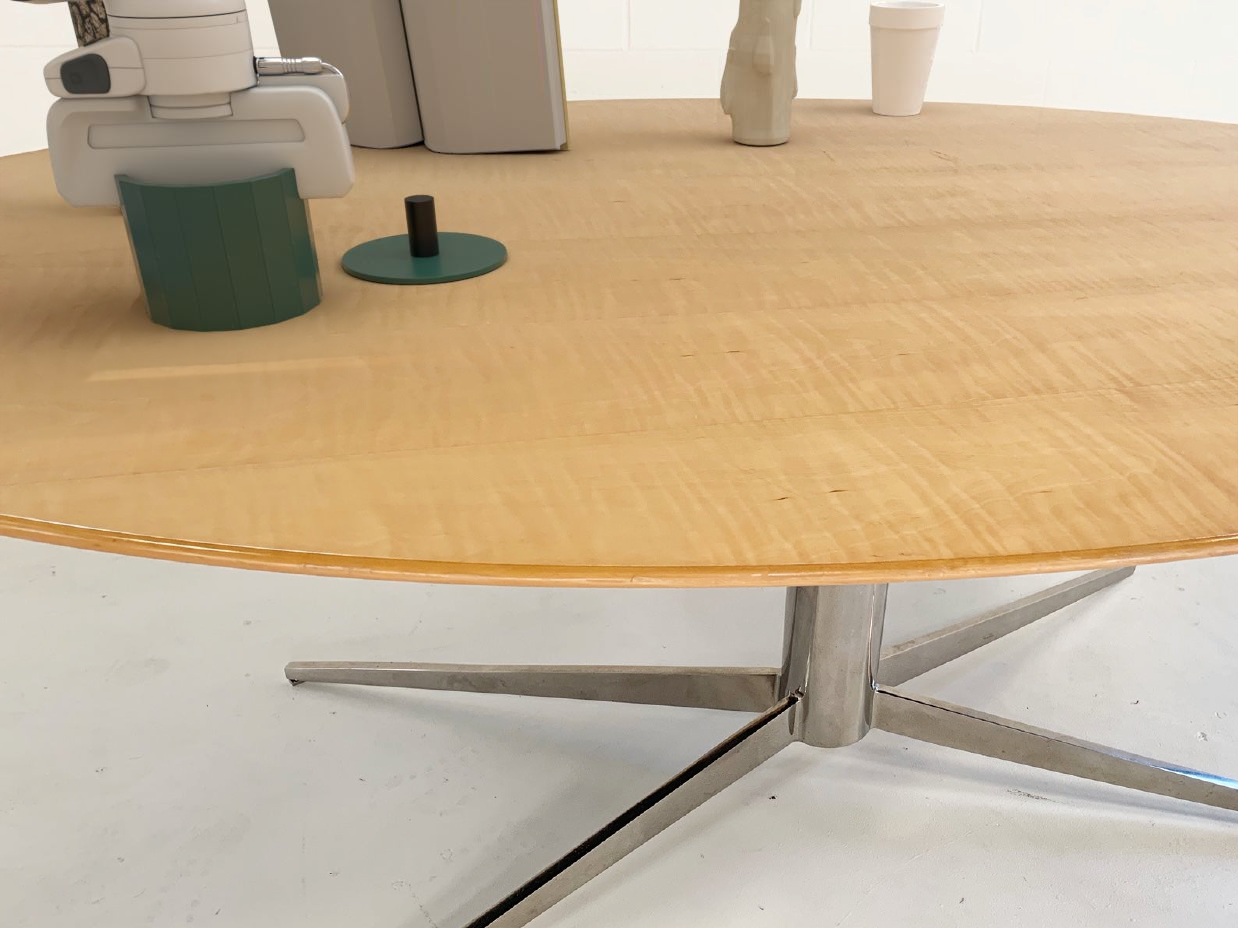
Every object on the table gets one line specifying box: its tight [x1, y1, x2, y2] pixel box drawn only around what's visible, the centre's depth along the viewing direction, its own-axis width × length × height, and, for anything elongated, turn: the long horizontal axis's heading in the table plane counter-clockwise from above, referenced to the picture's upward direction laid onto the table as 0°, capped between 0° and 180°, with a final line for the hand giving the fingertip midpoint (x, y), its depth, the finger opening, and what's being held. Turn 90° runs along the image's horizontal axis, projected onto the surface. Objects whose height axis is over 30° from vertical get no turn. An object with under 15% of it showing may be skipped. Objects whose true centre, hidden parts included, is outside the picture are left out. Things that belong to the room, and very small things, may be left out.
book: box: [267, 0, 572, 155], centre depth 132 cm, size 36×8×24 cm, turn 71°
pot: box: [114, 168, 324, 333], centre depth 84 cm, size 13×13×10 cm
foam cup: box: [868, 0, 946, 117], centre depth 152 cm, size 10×9×13 cm
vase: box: [719, 0, 803, 147], centre depth 132 cm, size 9×8×30 cm
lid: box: [341, 194, 508, 285], centre depth 95 cm, size 14×14×6 cm
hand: (227, 262), depth 85 cm, fingers closed on rook chess piece, 3 cm apart
